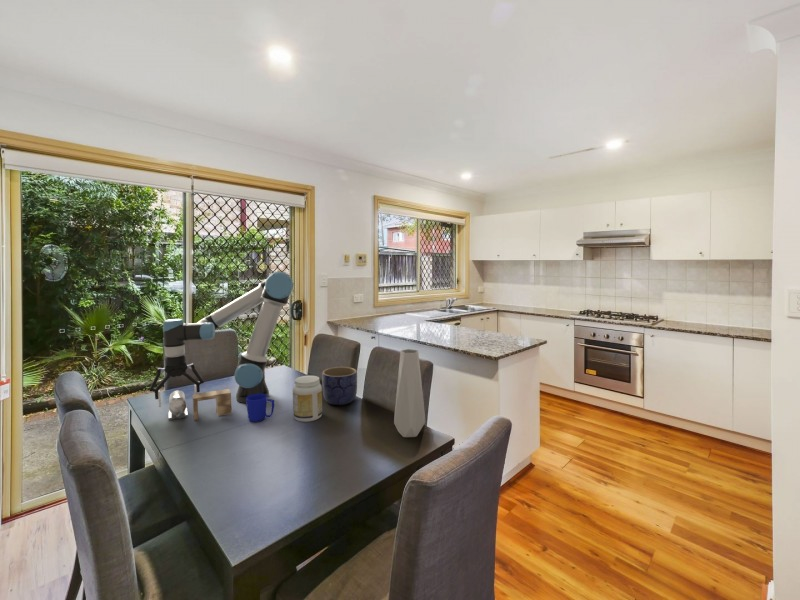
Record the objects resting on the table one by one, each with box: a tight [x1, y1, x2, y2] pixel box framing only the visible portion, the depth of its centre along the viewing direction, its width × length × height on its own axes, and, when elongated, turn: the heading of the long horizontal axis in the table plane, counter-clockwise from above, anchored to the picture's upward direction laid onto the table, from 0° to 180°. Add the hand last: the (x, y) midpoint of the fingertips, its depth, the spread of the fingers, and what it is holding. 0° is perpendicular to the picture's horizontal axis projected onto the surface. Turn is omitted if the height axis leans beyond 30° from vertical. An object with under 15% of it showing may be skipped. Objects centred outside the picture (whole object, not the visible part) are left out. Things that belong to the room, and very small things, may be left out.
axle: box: [168, 389, 187, 415], centre depth 163 cm, size 6×15×6 cm, turn 32°
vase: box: [393, 348, 426, 438], centre depth 145 cm, size 12×12×33 cm
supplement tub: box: [292, 375, 323, 423], centre depth 162 cm, size 12×12×17 cm
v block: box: [168, 407, 189, 421], centre depth 164 cm, size 7×9×3 cm
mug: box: [245, 394, 275, 423], centre depth 158 cm, size 8×12×10 cm
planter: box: [321, 366, 358, 406], centre depth 180 cm, size 16×16×15 cm
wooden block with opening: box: [192, 388, 233, 421], centre depth 164 cm, size 14×6×10 cm, turn 121°
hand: (178, 402), depth 164 cm, fingers open, 13 cm apart
